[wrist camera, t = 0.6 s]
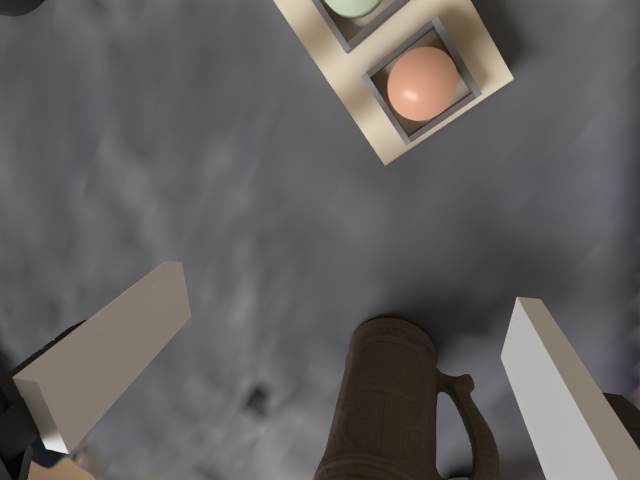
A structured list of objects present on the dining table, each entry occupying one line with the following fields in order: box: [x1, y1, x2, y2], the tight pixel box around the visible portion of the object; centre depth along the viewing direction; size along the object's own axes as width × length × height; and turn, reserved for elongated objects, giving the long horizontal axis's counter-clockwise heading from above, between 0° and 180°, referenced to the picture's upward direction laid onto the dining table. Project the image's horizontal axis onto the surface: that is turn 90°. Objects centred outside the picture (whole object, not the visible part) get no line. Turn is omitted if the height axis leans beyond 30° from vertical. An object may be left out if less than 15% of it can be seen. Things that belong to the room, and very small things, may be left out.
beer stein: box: [313, 318, 499, 480], centre depth 35 cm, size 15×11×20 cm
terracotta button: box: [388, 47, 458, 121], centre depth 27 cm, size 5×5×2 cm
